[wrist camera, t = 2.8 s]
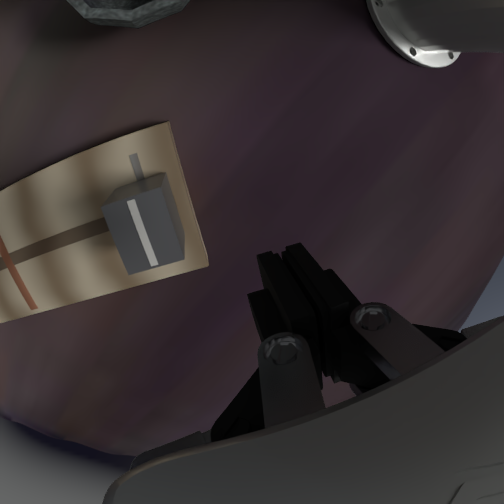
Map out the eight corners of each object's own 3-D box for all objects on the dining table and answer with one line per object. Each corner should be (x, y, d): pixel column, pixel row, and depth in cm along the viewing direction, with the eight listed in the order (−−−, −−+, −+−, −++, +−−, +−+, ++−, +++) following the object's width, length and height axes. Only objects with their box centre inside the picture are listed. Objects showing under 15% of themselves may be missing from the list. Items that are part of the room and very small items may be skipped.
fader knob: (166, 172, 21) (160, 187, 17) (184, 233, 24) (184, 260, 20) (115, 188, 21) (100, 207, 17) (137, 247, 23) (128, 275, 20)
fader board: (169, 120, 22) (167, 122, 20) (207, 254, 28) (209, 266, 26) (-51, 222, 20) (-61, 229, 18) (-3, 315, 26) (-10, 326, 24)
